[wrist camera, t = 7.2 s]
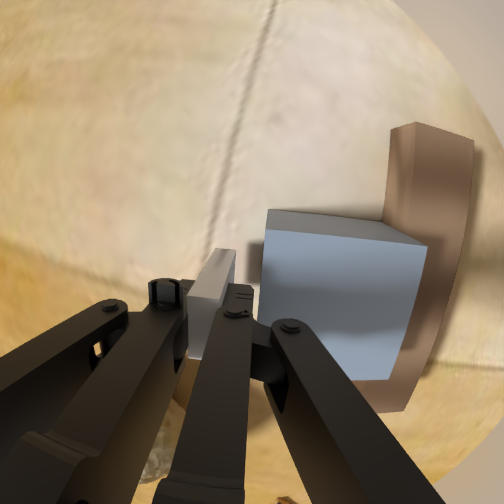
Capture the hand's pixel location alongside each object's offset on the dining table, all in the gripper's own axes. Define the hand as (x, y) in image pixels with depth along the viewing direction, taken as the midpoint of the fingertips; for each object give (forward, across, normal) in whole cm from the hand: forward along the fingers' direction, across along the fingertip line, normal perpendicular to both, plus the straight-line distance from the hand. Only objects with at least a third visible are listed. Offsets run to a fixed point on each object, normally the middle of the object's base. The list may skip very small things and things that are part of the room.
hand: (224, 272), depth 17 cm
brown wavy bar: (+1, +11, 0) cm, 11 cm away
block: (+1, +6, 0) cm, 6 cm away
